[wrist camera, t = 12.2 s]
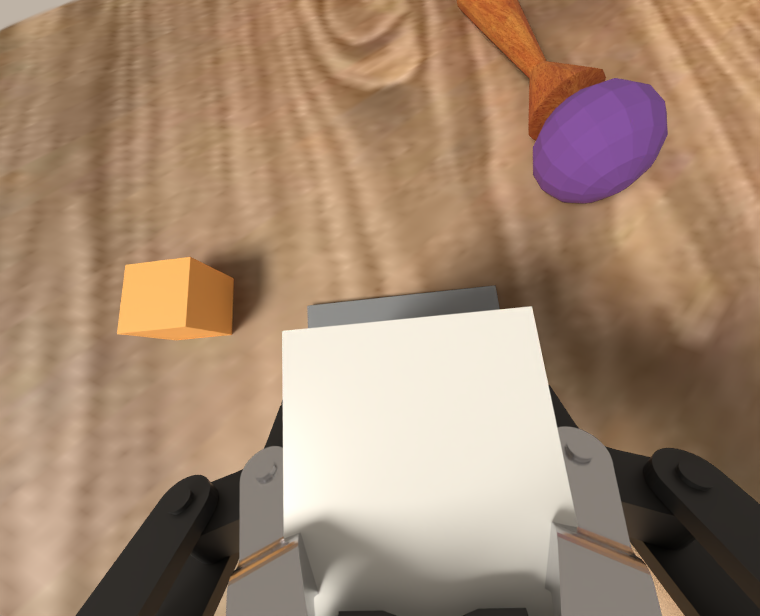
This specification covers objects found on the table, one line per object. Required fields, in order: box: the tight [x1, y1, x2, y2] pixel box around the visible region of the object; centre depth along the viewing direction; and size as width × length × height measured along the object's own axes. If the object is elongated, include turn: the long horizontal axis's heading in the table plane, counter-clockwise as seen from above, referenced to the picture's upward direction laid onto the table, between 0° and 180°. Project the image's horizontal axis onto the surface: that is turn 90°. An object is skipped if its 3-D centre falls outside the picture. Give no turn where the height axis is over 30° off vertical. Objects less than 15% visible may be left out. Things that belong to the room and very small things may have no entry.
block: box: [117, 257, 234, 340], centre depth 17 cm, size 4×4×4 cm
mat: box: [308, 286, 500, 328], centre depth 16 cm, size 12×12×1 cm
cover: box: [282, 306, 578, 616], centre depth 10 cm, size 6×6×10 cm
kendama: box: [457, 0, 668, 203], centre depth 18 cm, size 6×6×20 cm
